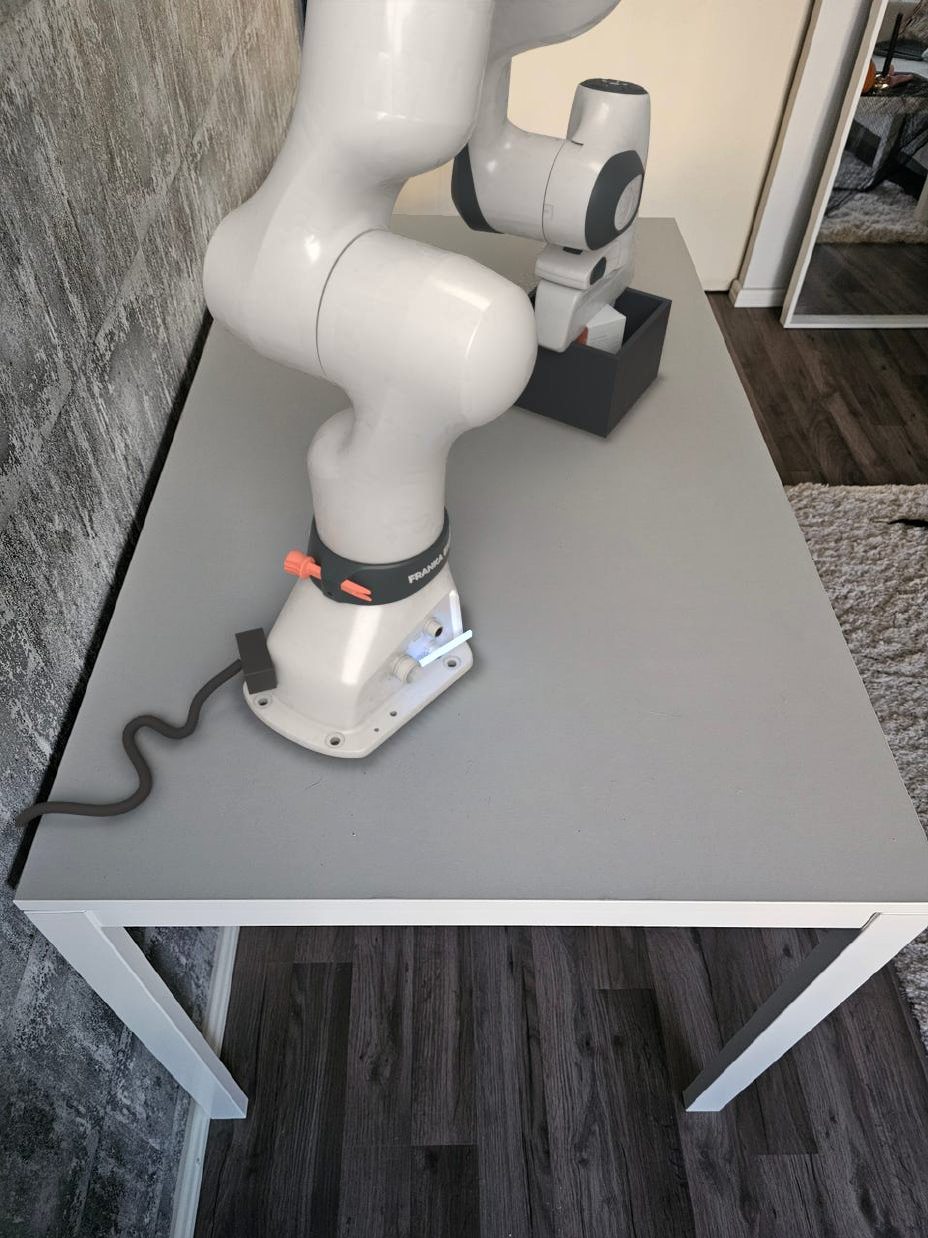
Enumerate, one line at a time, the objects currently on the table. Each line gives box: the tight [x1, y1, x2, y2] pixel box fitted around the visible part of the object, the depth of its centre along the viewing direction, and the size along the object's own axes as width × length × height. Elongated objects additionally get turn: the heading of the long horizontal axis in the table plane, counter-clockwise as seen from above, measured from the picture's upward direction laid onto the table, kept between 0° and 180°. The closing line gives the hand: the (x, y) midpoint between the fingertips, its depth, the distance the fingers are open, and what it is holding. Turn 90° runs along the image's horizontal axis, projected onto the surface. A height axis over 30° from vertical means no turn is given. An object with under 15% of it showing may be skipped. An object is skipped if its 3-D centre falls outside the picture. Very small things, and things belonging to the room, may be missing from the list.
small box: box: [575, 304, 626, 354], centre depth 112 cm, size 8×6×10 cm
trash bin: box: [512, 284, 673, 439], centre depth 113 cm, size 16×16×11 cm
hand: (581, 348), depth 112 cm, fingers open, 8 cm apart
